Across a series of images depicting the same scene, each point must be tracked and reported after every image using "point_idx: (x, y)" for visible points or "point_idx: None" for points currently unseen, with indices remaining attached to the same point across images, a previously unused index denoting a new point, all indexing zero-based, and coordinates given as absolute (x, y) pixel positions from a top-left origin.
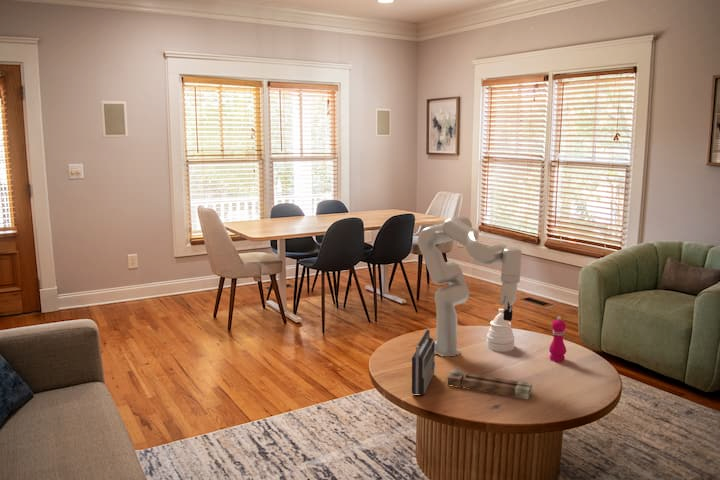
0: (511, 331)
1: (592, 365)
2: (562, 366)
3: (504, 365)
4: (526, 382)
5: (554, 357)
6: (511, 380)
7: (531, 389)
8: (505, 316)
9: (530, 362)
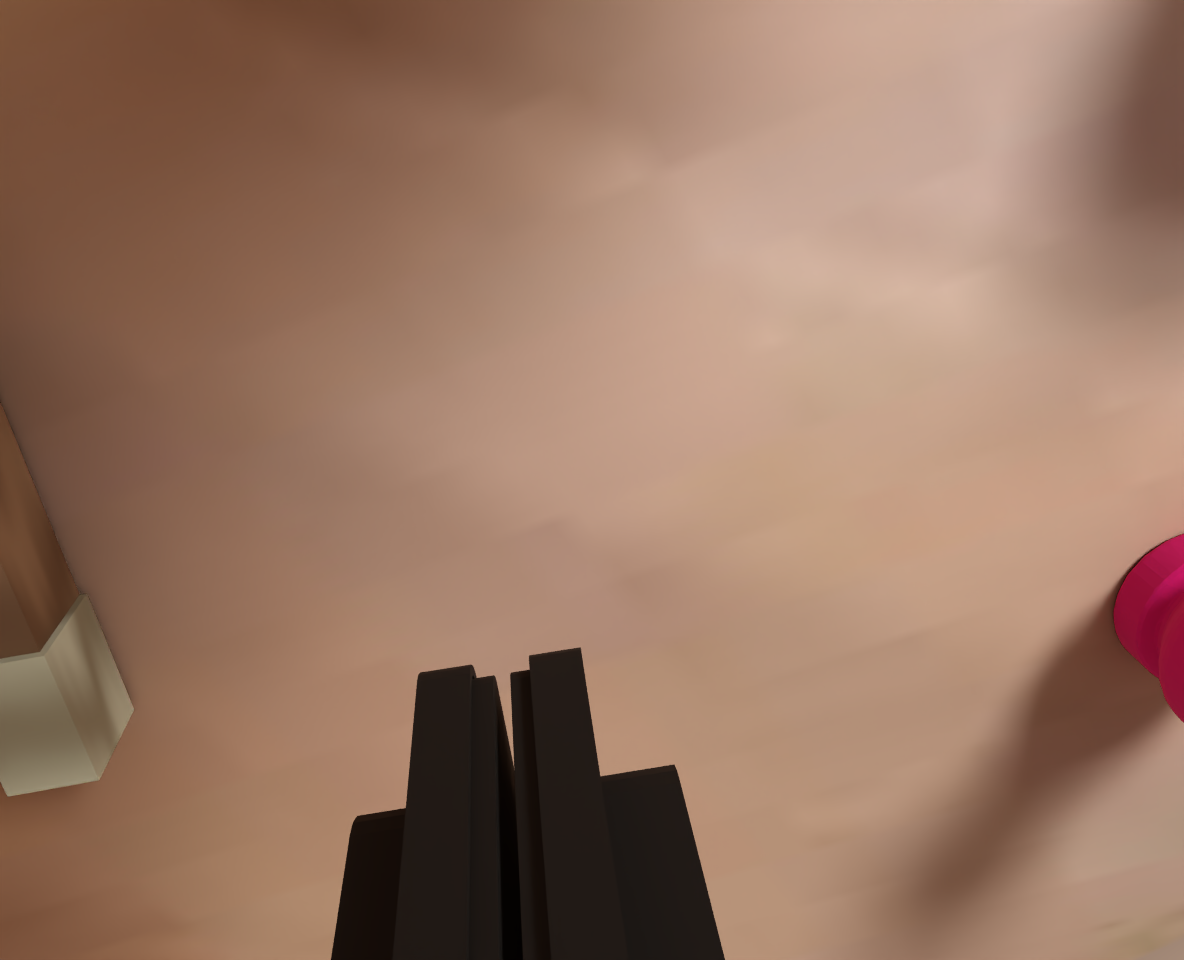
0: None
1: (1131, 873)
2: (1002, 696)
3: (738, 151)
4: (65, 734)
5: (1147, 615)
6: (6, 572)
7: (119, 730)
8: (350, 888)
9: (987, 395)
